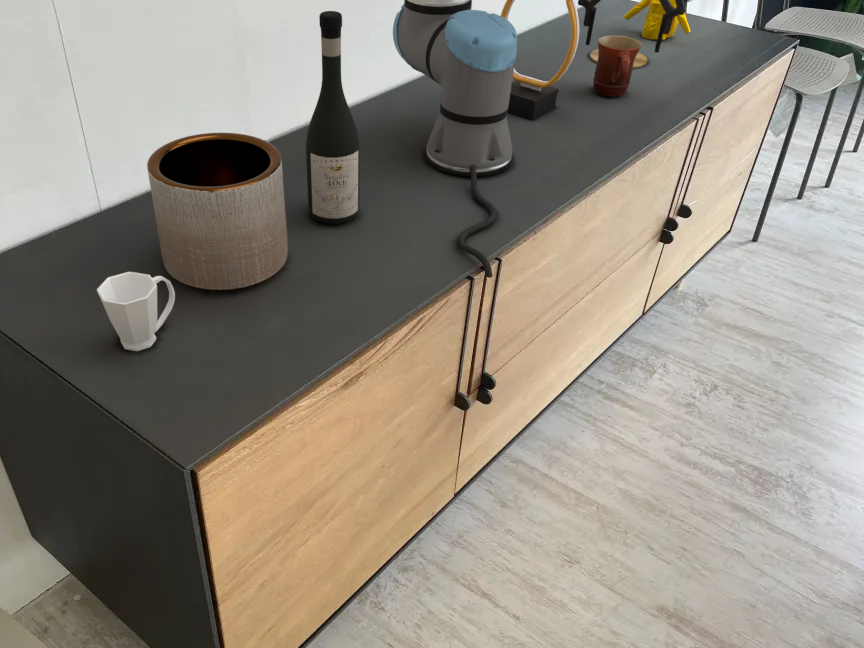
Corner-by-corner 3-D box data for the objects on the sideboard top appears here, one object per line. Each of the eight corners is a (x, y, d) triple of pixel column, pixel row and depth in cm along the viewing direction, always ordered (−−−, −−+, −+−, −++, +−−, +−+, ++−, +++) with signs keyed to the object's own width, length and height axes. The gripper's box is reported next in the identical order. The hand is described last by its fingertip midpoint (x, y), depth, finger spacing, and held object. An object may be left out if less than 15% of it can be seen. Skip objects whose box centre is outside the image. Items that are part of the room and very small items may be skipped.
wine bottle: (362, 225, 121) (364, 21, 101) (311, 228, 120) (303, 23, 100) (355, 200, 127) (355, 3, 107) (306, 203, 126) (298, 5, 106)
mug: (584, 84, 169) (594, 34, 162) (624, 85, 169) (636, 35, 162) (595, 105, 159) (606, 54, 153) (638, 106, 159) (650, 55, 153)
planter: (172, 230, 118) (155, 131, 108) (289, 228, 120) (283, 130, 109) (156, 298, 105) (135, 192, 95) (288, 294, 106) (281, 189, 96)
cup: (97, 343, 97) (83, 289, 92) (158, 306, 104) (148, 254, 98) (135, 365, 94) (123, 311, 89) (196, 326, 101) (187, 273, 95)
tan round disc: (645, 71, 175) (646, 69, 175) (587, 64, 178) (587, 62, 178) (648, 53, 185) (648, 51, 185) (592, 46, 188) (592, 45, 187)
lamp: (478, 103, 159) (497, -73, 139) (502, 91, 165) (524, -80, 144) (549, 125, 151) (581, -57, 131) (572, 112, 156) (606, -65, 136)
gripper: (717, -72, 144) (686, 47, 158) (580, -82, 149) (562, 34, 163) (718, -63, 138) (686, 59, 152) (576, -73, 144) (557, 45, 158)
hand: (621, 46), depth 158 cm, fingers open, 13 cm apart
